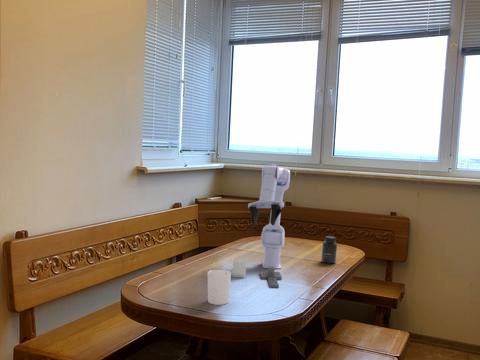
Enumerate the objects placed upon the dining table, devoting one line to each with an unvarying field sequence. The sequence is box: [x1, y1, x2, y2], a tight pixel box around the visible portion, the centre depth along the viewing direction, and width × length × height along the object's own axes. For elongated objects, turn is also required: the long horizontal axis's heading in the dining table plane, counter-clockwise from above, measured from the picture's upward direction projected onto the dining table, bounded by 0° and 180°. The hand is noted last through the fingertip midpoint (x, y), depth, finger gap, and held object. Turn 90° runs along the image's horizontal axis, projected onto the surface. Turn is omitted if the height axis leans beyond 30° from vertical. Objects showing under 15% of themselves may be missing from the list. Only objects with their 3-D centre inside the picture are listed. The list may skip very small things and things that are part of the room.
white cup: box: [207, 269, 232, 306], centre depth 166 cm, size 8×8×10 cm
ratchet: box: [259, 266, 283, 288], centre depth 195 cm, size 19×8×4 cm, turn 2°
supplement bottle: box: [320, 235, 338, 264], centre depth 230 cm, size 7×7×12 cm
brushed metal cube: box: [231, 258, 247, 279], centre depth 200 cm, size 5×5×6 cm
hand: (263, 224), depth 188 cm, fingers open, 7 cm apart
